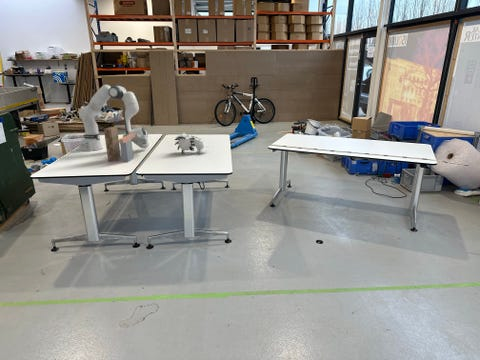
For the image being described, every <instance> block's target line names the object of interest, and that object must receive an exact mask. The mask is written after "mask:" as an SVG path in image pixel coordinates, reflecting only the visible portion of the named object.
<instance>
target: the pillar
mask: <svg viewBox="0 0 480 360" xmlns="http://www.w3.org/2000/svg"><path fill="white" fill-rule="evenodd" d="M118 131H119V129H118V127H117V126H108V127H106V128H104V129H103V134H104V139H105V147H106V148H105V149H106V154H107V155H106V156H107V161H108V162H117V161H119V160H120V159H121V160H122V155H121V147H120V143H119V139H120V138H119V133H118Z"/></svg>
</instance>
